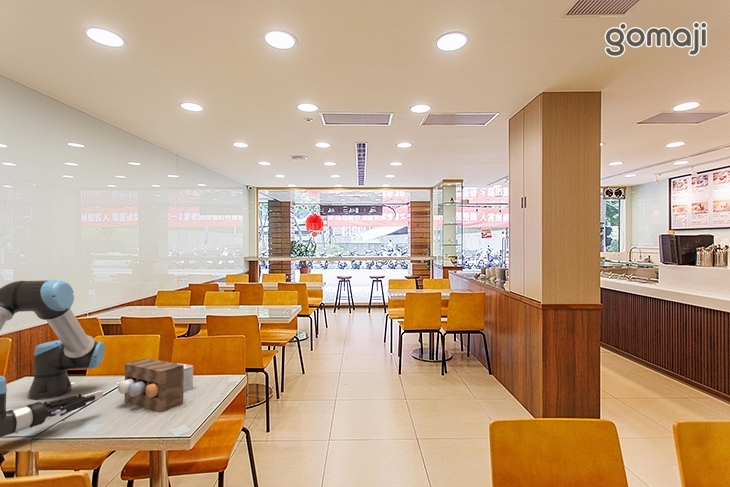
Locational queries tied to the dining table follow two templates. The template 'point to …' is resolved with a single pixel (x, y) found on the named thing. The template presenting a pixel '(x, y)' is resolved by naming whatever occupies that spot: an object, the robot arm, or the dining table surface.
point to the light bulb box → (187, 377)
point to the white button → (125, 385)
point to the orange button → (152, 390)
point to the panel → (160, 373)
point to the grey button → (137, 388)
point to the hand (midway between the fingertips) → (101, 394)
